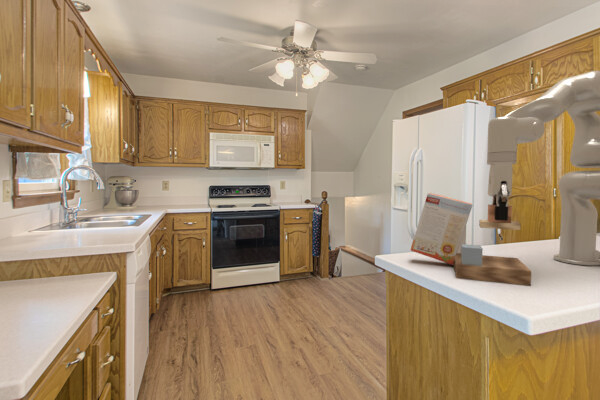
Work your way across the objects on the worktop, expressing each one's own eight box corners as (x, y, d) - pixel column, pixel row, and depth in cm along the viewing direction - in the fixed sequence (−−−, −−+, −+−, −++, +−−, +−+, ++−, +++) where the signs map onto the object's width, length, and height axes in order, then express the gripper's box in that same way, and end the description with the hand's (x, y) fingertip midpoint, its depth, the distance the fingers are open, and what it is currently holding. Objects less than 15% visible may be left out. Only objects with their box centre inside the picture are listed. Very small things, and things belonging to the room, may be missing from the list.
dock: (516, 270, 100) (517, 258, 100) (530, 285, 85) (531, 271, 85) (453, 264, 107) (453, 252, 107) (456, 277, 92) (456, 264, 92)
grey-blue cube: (479, 262, 94) (480, 245, 94) (481, 266, 90) (482, 248, 90) (460, 260, 96) (461, 244, 96) (462, 264, 92) (462, 247, 92)
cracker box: (453, 261, 109) (473, 203, 105) (452, 265, 103) (473, 204, 100) (412, 247, 115) (429, 192, 111) (409, 250, 109) (427, 192, 106)
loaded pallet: (516, 227, 97) (517, 205, 97) (520, 229, 92) (521, 206, 92) (479, 225, 102) (479, 204, 101) (480, 227, 96) (481, 205, 96)
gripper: (483, 161, 105) (481, 215, 106) (491, 157, 89) (489, 221, 90) (510, 160, 102) (507, 217, 103) (523, 156, 86) (520, 223, 87)
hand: (499, 218), depth 97 cm, fingers closed on loaded pallet, 5 cm apart
